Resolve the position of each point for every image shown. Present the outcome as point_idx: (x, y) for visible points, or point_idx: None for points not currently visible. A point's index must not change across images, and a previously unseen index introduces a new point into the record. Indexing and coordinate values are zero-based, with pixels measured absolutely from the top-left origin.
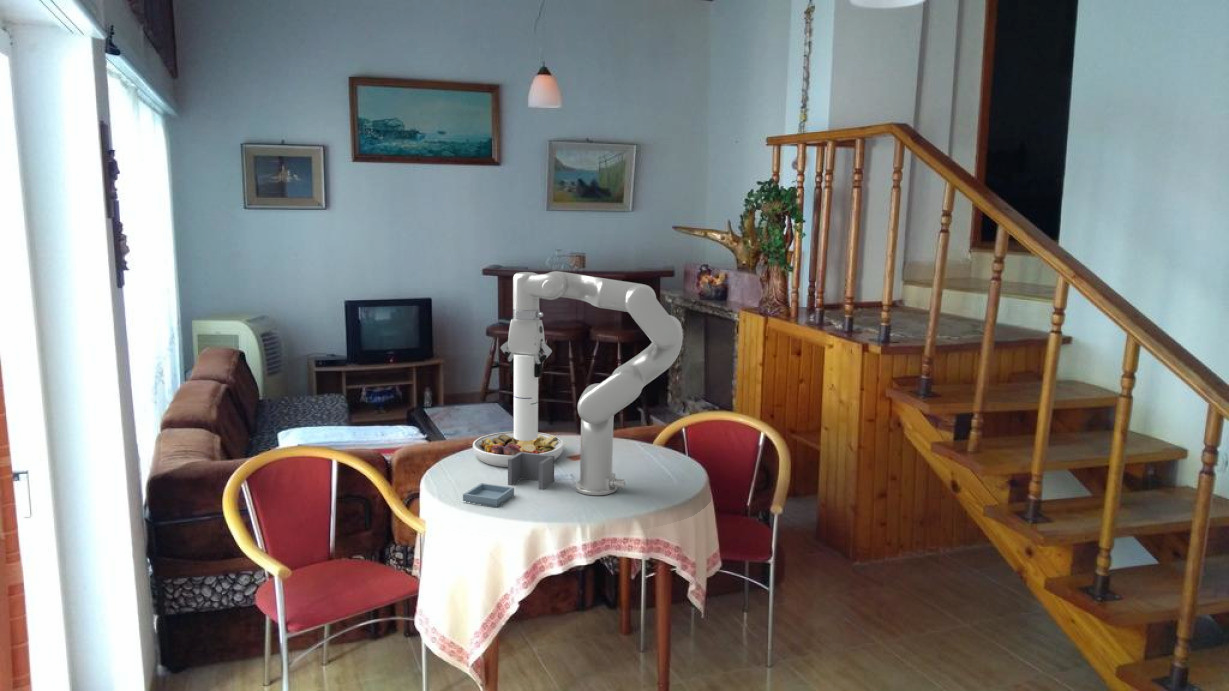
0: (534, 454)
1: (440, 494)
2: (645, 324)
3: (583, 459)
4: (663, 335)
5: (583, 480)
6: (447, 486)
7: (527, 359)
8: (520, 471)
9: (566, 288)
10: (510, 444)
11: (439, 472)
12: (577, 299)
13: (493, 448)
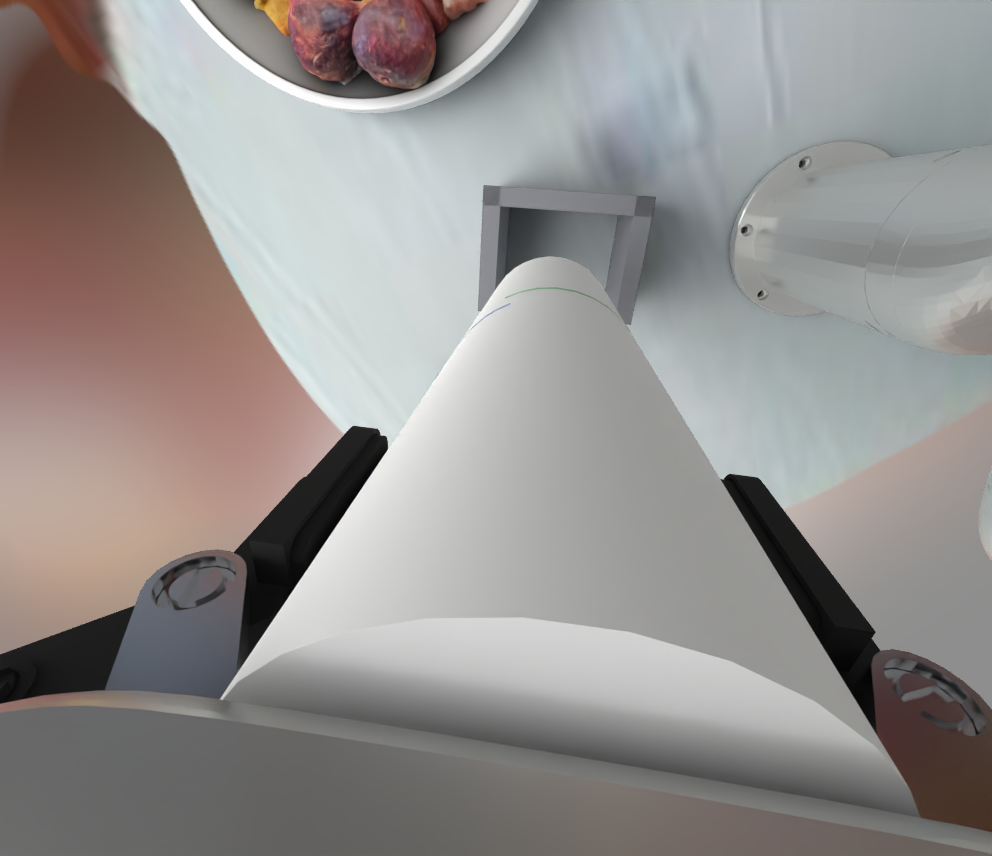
0: (560, 207)
1: (355, 423)
2: None
3: (825, 307)
4: None
5: (782, 291)
6: (332, 361)
7: None
8: (506, 221)
9: None
10: (376, 38)
11: (225, 242)
12: None
13: (306, 63)
